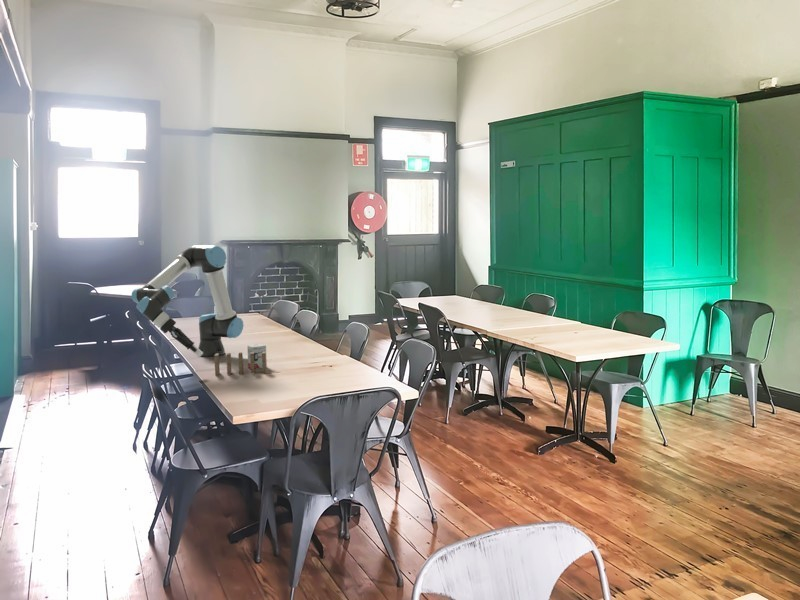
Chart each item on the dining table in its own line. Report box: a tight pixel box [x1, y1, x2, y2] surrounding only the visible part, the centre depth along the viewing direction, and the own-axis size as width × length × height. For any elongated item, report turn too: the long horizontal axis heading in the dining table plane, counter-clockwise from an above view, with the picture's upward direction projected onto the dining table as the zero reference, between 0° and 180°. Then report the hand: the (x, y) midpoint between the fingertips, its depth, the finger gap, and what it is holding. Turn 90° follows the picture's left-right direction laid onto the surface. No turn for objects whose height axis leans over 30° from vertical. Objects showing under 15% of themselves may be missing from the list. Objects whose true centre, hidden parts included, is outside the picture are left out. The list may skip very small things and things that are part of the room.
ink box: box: [247, 343, 268, 370], centre depth 353 cm, size 9×5×12 cm, turn 126°
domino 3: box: [250, 352, 256, 374], centre depth 342 cm, size 5×2×10 cm, turn 9°
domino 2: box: [238, 352, 244, 375], centre depth 341 cm, size 5×2×10 cm, turn 9°
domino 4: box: [262, 351, 267, 374], centre depth 343 cm, size 5×2×10 cm, turn 9°
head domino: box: [213, 353, 220, 376], centre depth 340 cm, size 5×2×10 cm, turn 9°
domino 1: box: [226, 352, 232, 375], centre depth 341 cm, size 5×2×10 cm, turn 9°
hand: (201, 355), depth 338 cm, fingers closed
